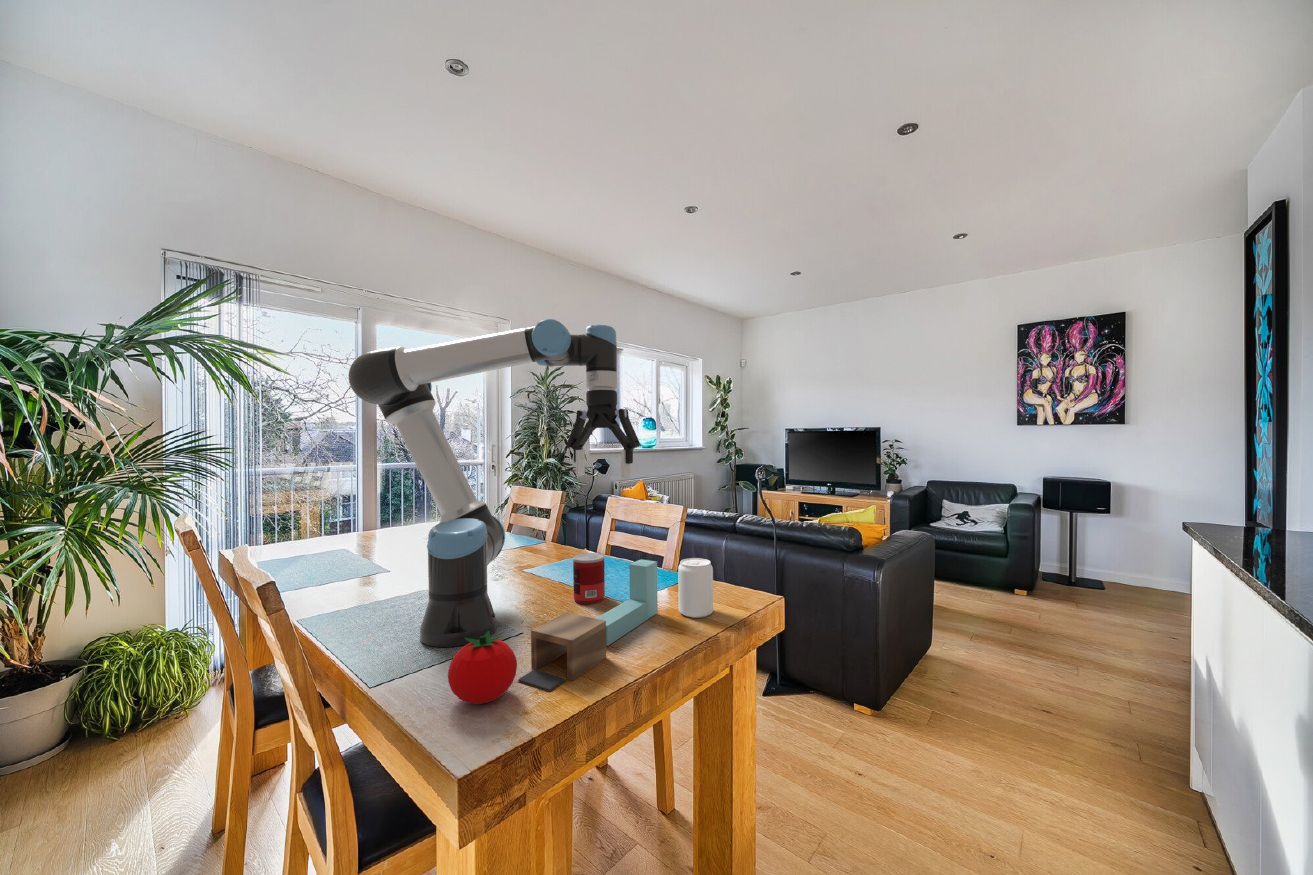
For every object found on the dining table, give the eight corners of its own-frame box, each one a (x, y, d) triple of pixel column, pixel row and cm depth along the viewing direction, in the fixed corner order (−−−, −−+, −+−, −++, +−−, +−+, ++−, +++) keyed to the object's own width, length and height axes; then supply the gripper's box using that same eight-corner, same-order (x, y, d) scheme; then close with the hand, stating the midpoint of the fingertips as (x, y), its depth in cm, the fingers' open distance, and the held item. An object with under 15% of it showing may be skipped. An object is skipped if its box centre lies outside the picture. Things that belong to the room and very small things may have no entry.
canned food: (610, 597, 127) (610, 555, 127) (590, 606, 121) (590, 562, 120) (587, 592, 131) (587, 551, 131) (567, 601, 125) (566, 558, 125)
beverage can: (711, 620, 111) (711, 567, 111) (676, 618, 113) (675, 565, 113) (714, 607, 119) (714, 558, 119) (681, 605, 121) (680, 556, 121)
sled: (589, 641, 100) (588, 582, 100) (641, 609, 118) (640, 559, 118) (607, 645, 98) (606, 585, 98) (657, 612, 116) (657, 561, 116)
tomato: (437, 719, 74) (436, 652, 73) (461, 683, 84) (460, 625, 84) (508, 716, 74) (507, 649, 74) (523, 681, 85) (522, 623, 84)
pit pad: (518, 681, 84) (518, 679, 84) (534, 671, 88) (534, 669, 88) (549, 691, 81) (549, 689, 81) (565, 680, 85) (565, 678, 85)
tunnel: (531, 668, 89) (531, 630, 89) (567, 647, 98) (566, 612, 98) (572, 681, 84) (572, 640, 84) (606, 657, 93) (605, 620, 93)
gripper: (552, 391, 124) (553, 476, 124) (637, 386, 112) (638, 479, 112) (571, 393, 130) (572, 473, 130) (653, 388, 118) (654, 477, 118)
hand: (602, 476), depth 121 cm, fingers open, 13 cm apart
